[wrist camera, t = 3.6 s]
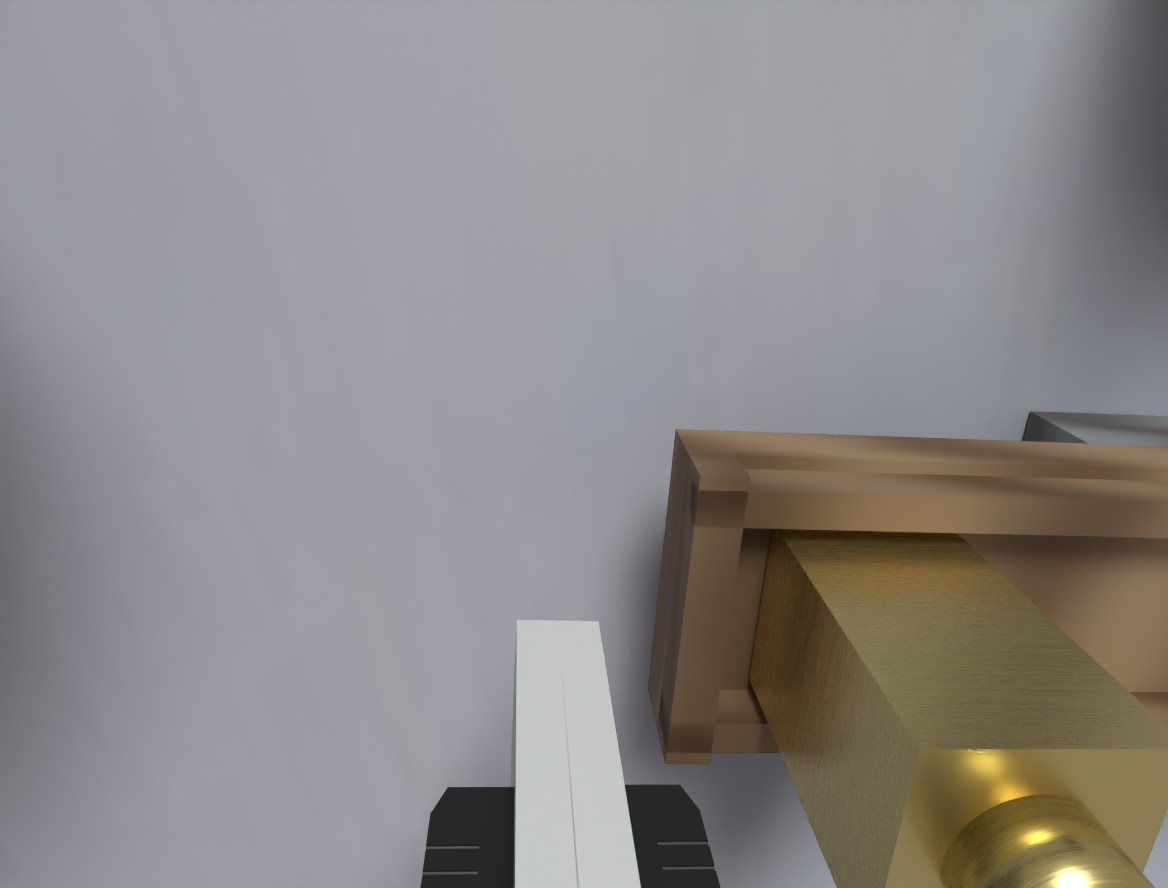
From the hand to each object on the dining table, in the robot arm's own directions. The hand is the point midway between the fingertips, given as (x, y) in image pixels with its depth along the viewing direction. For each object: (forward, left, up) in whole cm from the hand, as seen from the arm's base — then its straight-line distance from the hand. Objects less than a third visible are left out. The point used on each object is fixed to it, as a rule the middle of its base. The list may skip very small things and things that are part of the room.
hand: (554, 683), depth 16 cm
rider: (+7, 0, -3) cm, 7 cm away
